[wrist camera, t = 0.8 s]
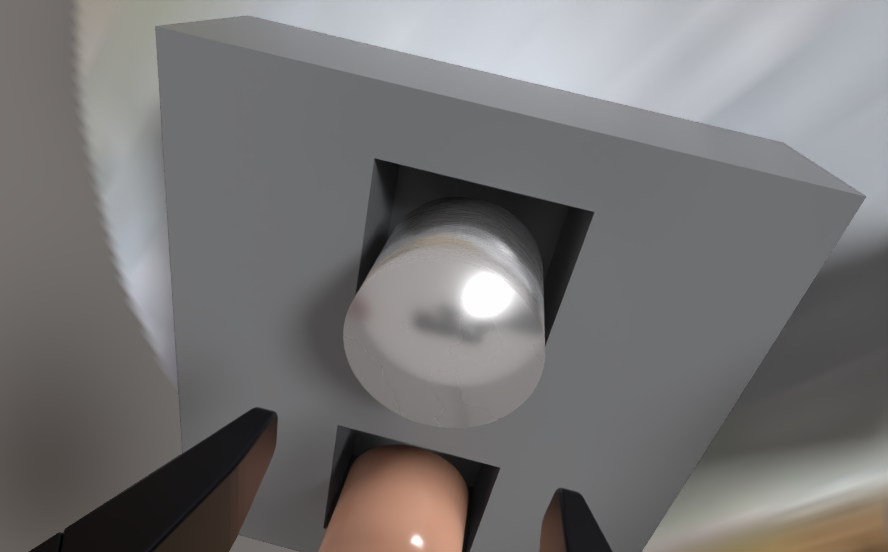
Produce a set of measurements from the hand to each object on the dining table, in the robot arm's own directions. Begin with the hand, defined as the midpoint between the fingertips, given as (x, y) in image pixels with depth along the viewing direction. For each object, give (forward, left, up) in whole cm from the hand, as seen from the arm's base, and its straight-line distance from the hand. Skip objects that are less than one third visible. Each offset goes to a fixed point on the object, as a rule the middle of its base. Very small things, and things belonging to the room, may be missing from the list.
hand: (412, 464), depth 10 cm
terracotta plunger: (0, +10, -7) cm, 13 cm away
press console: (0, +5, -12) cm, 13 cm away
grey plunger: (0, 0, -7) cm, 7 cm away
